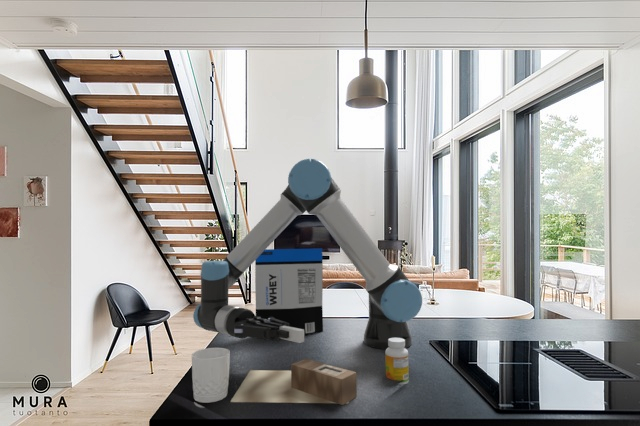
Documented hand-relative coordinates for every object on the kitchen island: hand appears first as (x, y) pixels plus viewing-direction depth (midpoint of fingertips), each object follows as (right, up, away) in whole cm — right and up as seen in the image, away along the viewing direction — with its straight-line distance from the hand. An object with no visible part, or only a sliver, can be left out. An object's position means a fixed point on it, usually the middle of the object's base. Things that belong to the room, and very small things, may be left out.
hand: (302, 336), depth 86 cm
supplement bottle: (+22, -12, +4) cm, 26 cm away
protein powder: (-7, -15, +49) cm, 51 cm away
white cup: (-19, -12, -6) cm, 23 cm away
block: (-1, -8, 0) cm, 8 cm away
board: (-2, -12, 0) cm, 12 cm away
